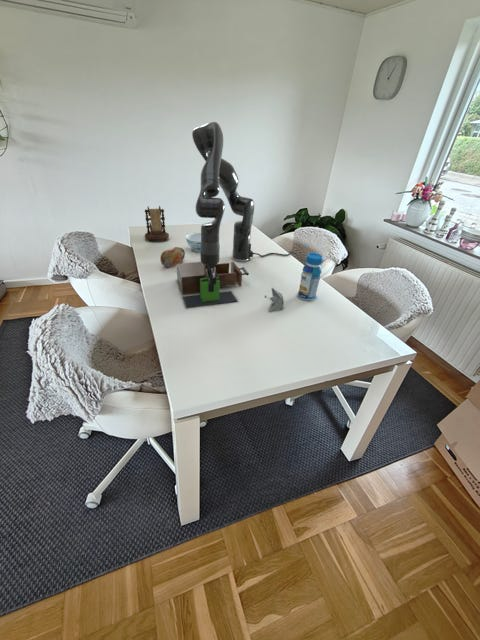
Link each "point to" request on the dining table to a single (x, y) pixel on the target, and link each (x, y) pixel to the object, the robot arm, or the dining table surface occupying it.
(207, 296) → the green ridged box
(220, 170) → the robot arm
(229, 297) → the placemat
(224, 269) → the drawer
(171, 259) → the tin
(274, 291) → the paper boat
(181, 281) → the cabinet
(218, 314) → the dining table surface
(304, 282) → the beverage bottle
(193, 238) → the chinaware
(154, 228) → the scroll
